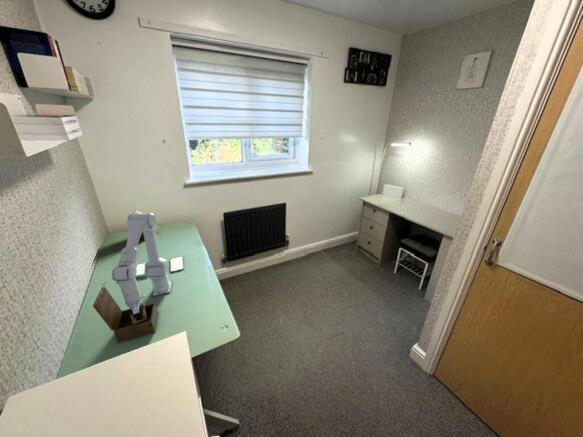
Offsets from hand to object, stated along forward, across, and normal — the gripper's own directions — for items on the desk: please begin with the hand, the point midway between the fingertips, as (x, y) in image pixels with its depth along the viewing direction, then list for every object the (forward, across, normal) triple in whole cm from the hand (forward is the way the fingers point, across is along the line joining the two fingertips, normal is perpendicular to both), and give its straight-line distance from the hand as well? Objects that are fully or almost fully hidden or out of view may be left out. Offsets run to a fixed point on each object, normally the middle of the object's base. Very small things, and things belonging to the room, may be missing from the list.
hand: (139, 315), depth 102 cm
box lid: (-8, +1, +9) cm, 12 cm away
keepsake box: (+5, -1, +1) cm, 5 cm away
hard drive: (+5, +44, -5) cm, 45 cm away
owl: (+5, +92, -14) cm, 94 cm away
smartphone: (+5, +40, -23) cm, 46 cm away
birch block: (+1, 0, 0) cm, 1 cm away
